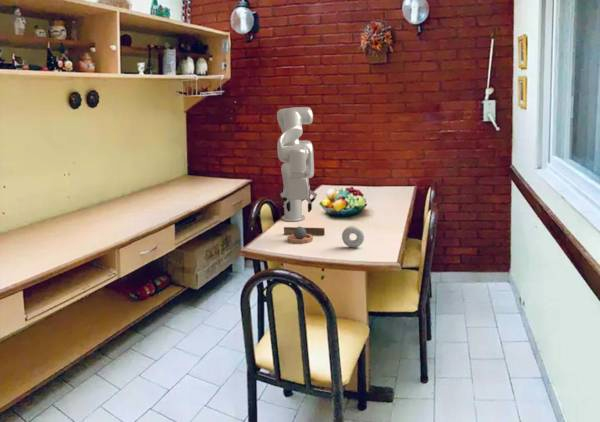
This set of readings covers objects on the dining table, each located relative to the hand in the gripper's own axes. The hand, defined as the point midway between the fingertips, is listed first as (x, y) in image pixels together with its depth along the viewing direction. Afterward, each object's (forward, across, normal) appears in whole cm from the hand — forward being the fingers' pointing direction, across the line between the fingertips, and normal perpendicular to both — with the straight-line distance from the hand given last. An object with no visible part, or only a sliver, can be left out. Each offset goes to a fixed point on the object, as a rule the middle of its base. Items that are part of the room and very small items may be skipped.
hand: (299, 211), depth 261 cm
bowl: (+14, 0, +1) cm, 14 cm away
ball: (+10, 0, +1) cm, 10 cm away
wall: (+14, 0, -9) cm, 17 cm away
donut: (+14, -26, +10) cm, 31 cm away
